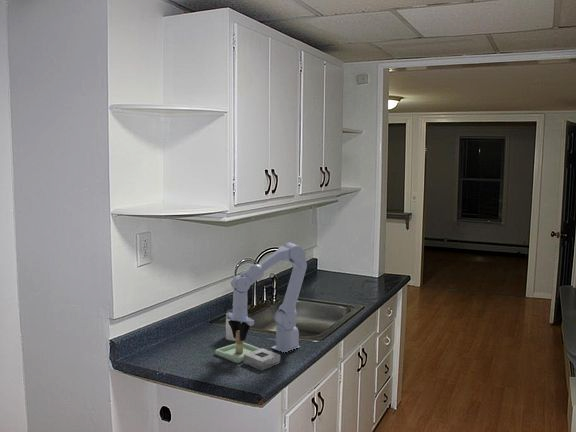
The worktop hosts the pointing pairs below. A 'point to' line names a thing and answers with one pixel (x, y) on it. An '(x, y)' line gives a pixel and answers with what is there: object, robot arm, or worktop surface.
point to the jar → (229, 328)
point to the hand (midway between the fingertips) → (239, 339)
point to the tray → (230, 354)
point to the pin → (238, 344)
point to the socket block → (261, 359)
